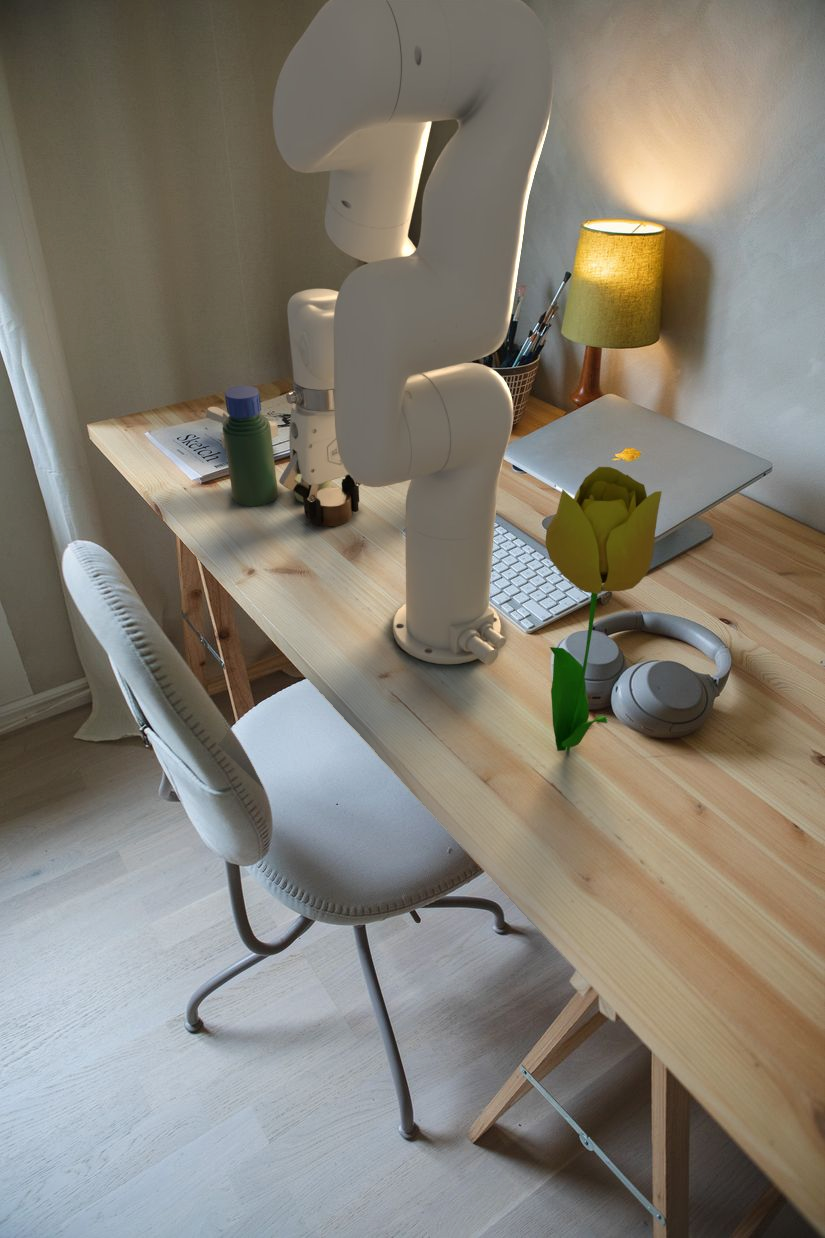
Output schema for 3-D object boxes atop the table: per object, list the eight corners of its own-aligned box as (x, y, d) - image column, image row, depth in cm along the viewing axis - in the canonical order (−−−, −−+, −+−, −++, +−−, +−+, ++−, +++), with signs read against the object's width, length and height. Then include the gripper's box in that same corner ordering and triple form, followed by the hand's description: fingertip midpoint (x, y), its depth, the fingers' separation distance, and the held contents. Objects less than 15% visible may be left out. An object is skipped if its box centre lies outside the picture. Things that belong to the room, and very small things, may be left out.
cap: (267, 412, 114) (264, 393, 112) (236, 421, 111) (234, 401, 110) (251, 401, 117) (249, 382, 115) (221, 409, 114) (218, 390, 113)
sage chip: (338, 496, 122) (337, 477, 120) (307, 507, 119) (305, 488, 117) (319, 482, 125) (318, 463, 123) (288, 492, 123) (286, 473, 121)
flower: (627, 752, 82) (690, 484, 63) (576, 796, 77) (628, 522, 59) (558, 708, 87) (598, 447, 68) (507, 747, 82) (535, 479, 64)
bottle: (286, 497, 122) (275, 398, 112) (245, 511, 118) (231, 410, 109) (264, 480, 126) (252, 382, 116) (225, 492, 123) (209, 394, 113)
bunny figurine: (231, 443, 127) (197, 398, 136) (234, 471, 130) (201, 426, 139) (288, 429, 130) (251, 387, 139) (289, 457, 134) (253, 414, 143)
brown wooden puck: (359, 518, 117) (358, 498, 115) (326, 530, 114) (325, 510, 112) (338, 503, 120) (337, 483, 118) (306, 514, 118) (305, 494, 116)
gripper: (279, 419, 100) (293, 545, 111) (395, 386, 108) (397, 507, 119) (250, 399, 104) (266, 522, 116) (363, 368, 112) (368, 486, 123)
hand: (332, 513), depth 117 cm, fingers closed on brown wooden puck, 5 cm apart
